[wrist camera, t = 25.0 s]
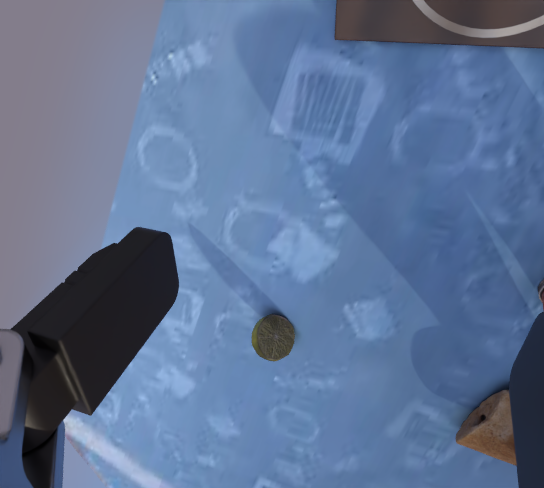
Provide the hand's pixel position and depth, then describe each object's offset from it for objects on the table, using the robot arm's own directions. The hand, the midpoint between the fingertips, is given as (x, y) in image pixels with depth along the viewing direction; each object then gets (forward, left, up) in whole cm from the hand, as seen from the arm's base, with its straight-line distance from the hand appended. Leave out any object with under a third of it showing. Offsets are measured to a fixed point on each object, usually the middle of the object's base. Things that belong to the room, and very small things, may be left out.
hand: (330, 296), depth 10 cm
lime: (-13, -30, -28) cm, 43 cm away
